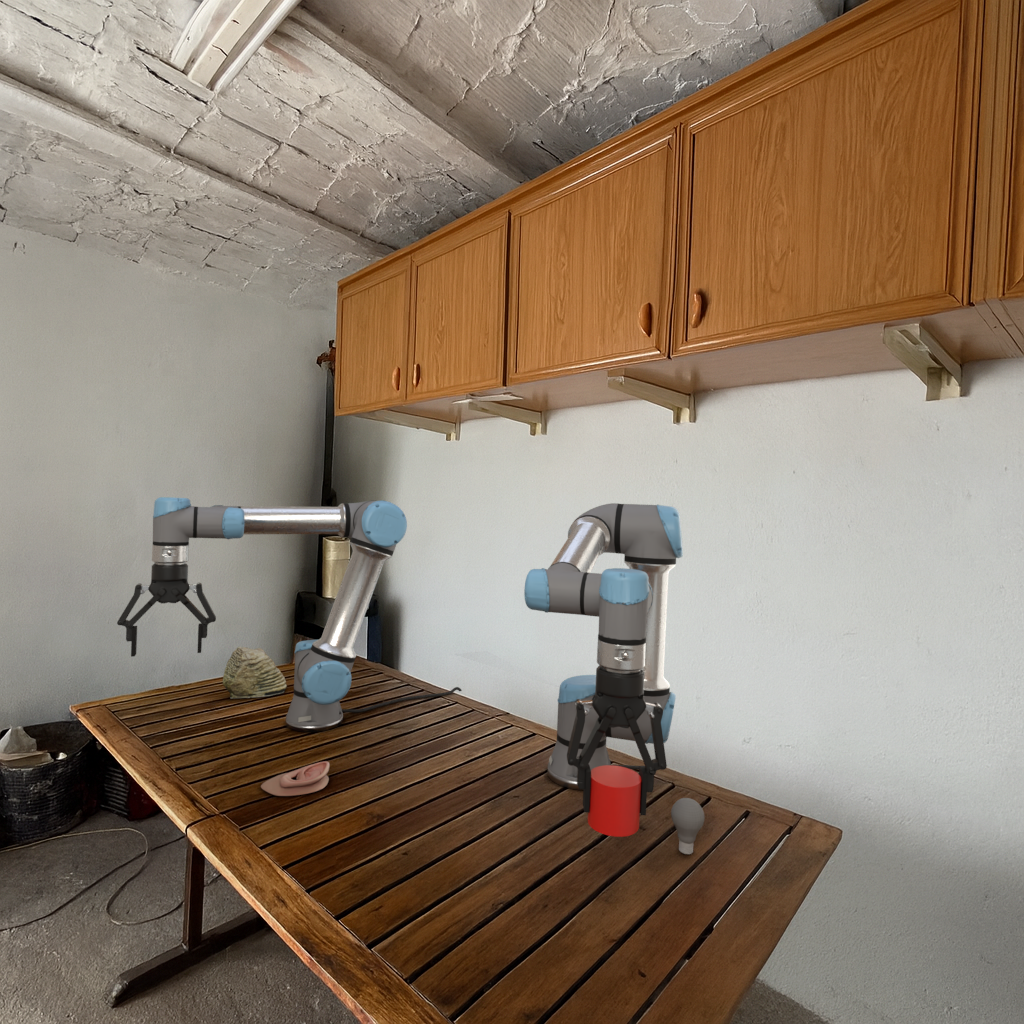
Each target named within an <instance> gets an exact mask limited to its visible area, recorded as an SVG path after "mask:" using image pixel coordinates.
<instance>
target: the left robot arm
mask: <svg viewBox="0 0 1024 1024" xmlns="http://www.w3.org/2000/svg"><path fill="white" fill-rule="evenodd" d="M407 530H408V521H407V517H406V515H405V513H404V511H403V509H401V508H400V507H399V506H398V505H397V504H396V503H393V502H391V501H387V500H372V499H371V500H365V501H360V502H349V503H348V502H347V503H346V502H344V503H343V502H342V503H340V504H339V505H338V506H294V505H293V506H287V505H286V506H285V505H284V506H283V505H281V506H279V505H278V506H277V505H276V506H275V505H266V506H265V505H223V504H218V505H217V504H215V505H212V506H194V505H192V504H191V500H190V498H188V497H173V496H171V497H169V496H163V497H161V496H160V497H157V498H156V500H154V503H153V516H152V545H151V546H152V548H151V549H152V550H151V561H152V562H153V564H152V565H151V572H150V573H151V575H150V578H151V579H150V584H142V583H137V584H136V585H135V587H134V592H133V596H131V599H130V600H129V602H128V604H127V605H126V607H125V608H124V610H123V612H122V613H121V615H120V617H119V618H118V620H117V622H116V624H117V625H118V626H122V627H124V628H125V631H126V633H125V640H126V642H130V643H131V644H130V645H131V646H130V657H136V655H137V648H138V647H137V646H138V645H137V643H138V625H135V624H136V623H137V622H138V621H139V620H140V619H141V618H142V617H143V616H144V615H145V614H146V613H147V612H148V611H149V610H150V609H151V608H152V607H153V606H155V604H156V603H157V602H158V603H160V604H167V603H169V604H177V603H179V602H180V603H181V604H182V605H183V606H185V608H186V609H188V611H189V612H190V613H191V614H192V615H193V616H194V617H195V618H196V619H197V620H198V621H199V622H200V623H198V625H197V626H198V629H197V654H202V645H203V644H202V643H203V639H207V637H208V625H209V624H211V623H215V622H216V620H217V616H216V614H215V612H214V610H213V608H212V606H211V604H210V603H209V601H208V599H207V597H206V595H205V593H204V592H203V591H204V590H203V584H202V582H197V583H192V584H189V580H188V579H189V565H188V564H187V562H188V561H189V553H190V539H226V540H231V539H232V540H233V539H241V538H243V537H244V536H245V535H338V536H339V537H340V538H349V539H350V541H349V544H350V547H351V549H352V552H351V556H350V558H349V561H348V563H347V566H346V570H345V572H344V575H343V577H342V579H341V583H340V585H339V588H338V591H337V594H336V595H335V599H334V602H333V604H332V607H331V610H330V613H329V615H328V618H327V620H326V624H325V626H324V629H323V632H322V635H321V637H320V638H319V639H307V640H301V641H298V642H297V643H296V644H295V648H294V649H295V650H294V672H293V673H294V674H293V675H294V676H293V695H292V696H293V697H292V699H291V702H290V704H289V708H288V711H287V713H286V715H285V726H286V728H287V729H289V730H291V731H294V732H295V731H296V732H301V733H316V732H325V731H329V730H332V729H335V728H337V727H339V726H340V725H342V723H343V722H344V714H343V713H351V714H359V713H365V712H368V711H371V710H374V709H377V708H380V707H385V706H387V705H392V704H395V703H400V702H405V701H411V700H419V699H426V698H434V697H435V698H436V697H442V696H444V697H445V696H449V695H452V694H453V693H455V692H456V691H457V692H462V691H463V690H462V689H461V688H460V687H459V686H456V687H453V688H452V689H450V690H449V691H446V692H445V691H444V692H439V693H429V694H428V693H427V694H420V695H413V696H406V697H401V698H396V699H391V700H388V701H385V702H381V703H378V704H377V703H376V704H374V705H371V706H368V707H364V708H358V709H353V708H352V709H350V708H342V706H341V702H340V701H341V700H342V699H344V697H346V696H347V694H348V693H349V691H350V689H351V687H352V670H353V666H354V664H355V660H356V658H357V654H356V652H355V649H354V646H355V643H356V640H357V638H358V636H359V633H360V629H361V627H362V624H363V622H364V619H365V616H366V613H367V612H368V611H367V610H368V608H369V605H370V602H371V599H372V597H373V593H374V591H375V588H376V586H377V583H378V580H379V577H380V574H381V572H382V569H383V566H384V563H385V562H386V561H387V560H389V559H391V558H393V555H394V552H395V549H396V547H397V545H398V544H399V543H400V542H401V541H402V540H403V538H404V537H405V535H406V533H407ZM190 590H191V591H192V592H193V593H194V594H196V596H197V598H198V600H199V602H200V603H201V606H202V607H203V610H204V611H205V612H206V616H207V617H206V616H205V615H204V614H203V612H201V610H199V609H198V607H197V606H195V604H194V603H193V602H192V600H190V599H189V598H188V597H187V595H186V594H187V593H188V592H189V591H190ZM146 591H149V593H150V594H151V596H152V597H151V598H150V599H149V600H148V601H147V602H146V603H145V604H144V605H143V606H142V607H141V608H140V609H139V610H138V611H137V612H136V613H135V614H134V615H133V616H132V617H131V618H130V619H128V617H129V615H130V614H131V612H132V610H133V609H134V607H135V605H136V603H137V602H138V600H139V598H140V596H141V595H144V594H145V593H146Z"/></svg>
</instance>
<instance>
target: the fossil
mask: <svg viewBox="0 0 1024 1024" xmlns="http://www.w3.org/2000/svg"><path fill="white" fill-rule="evenodd" d="M222 676H223V677H222V685H223V687H224V688H225V690H226V691H228V693H229V698H230V699H250V698H264V697H271V696H275V695H281V694H284V693H285V691H286V689H287V687H288V686H287V680H286V678H285V676H284V674H283V673H282V672H281V669H279V668H278V667H277V665H276V663H275V662H274V660H273V659H272V658H271V657H270V656H269V655H268V654H267V653H266V652H265V650H264V649H263V648H260V647H258V648H251V647H247V646H246V647H245V646H238V647H237V648H236V649H235V650H233V651H232V653H231V656H230V657H229V659H228V660H227V663H226V666H225V668H224V671H223V675H222Z"/></svg>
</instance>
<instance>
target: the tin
mask: <svg viewBox="0 0 1024 1024" xmlns="http://www.w3.org/2000/svg"><path fill="white" fill-rule="evenodd" d="M614 765H615V764H611V765H604V766H598V767H595V768H593V769H592V770H591V785H590V807H589V813H587V818H586V819H587V824H588V826H589V827H590V828H591V829H592V830H593V831H595V832H597V833H600V834H602V835H605V836H609V837H617V838H623V837H629V836H632V835H635V834H636V833H637V832H638V831H639V830H640V822H641V821H640V819H641V814H640V800H641V776H640V775H639V773H638V772H637V771H635V770H634V769H628V768H625V767H621V766H614Z"/></svg>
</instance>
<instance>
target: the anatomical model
mask: <svg viewBox="0 0 1024 1024" xmlns="http://www.w3.org/2000/svg"><path fill="white" fill-rule="evenodd" d="M330 766H331V765H330V762H329V761H327V760H325V761H320V762H316V763H312V764H309V765H306V766H302V767H300V768H298V769H295V770H292V771H289V772H285V773H281V774H278V775H276V776H273V777H271V778H269V779H267V780H266V781H264V782H262V783H261V785H260V788H261V789H262V790H263V791H264V792H266V793H268V794H270V795H273V796H276V797H293V796H300V795H301V796H302V795H307V794H311V793H315V792H318V791H321V790H323V789H324V788H325V787H326V786H328V783H329V781H330V778H329V776H328V773H329V770H330Z"/></svg>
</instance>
